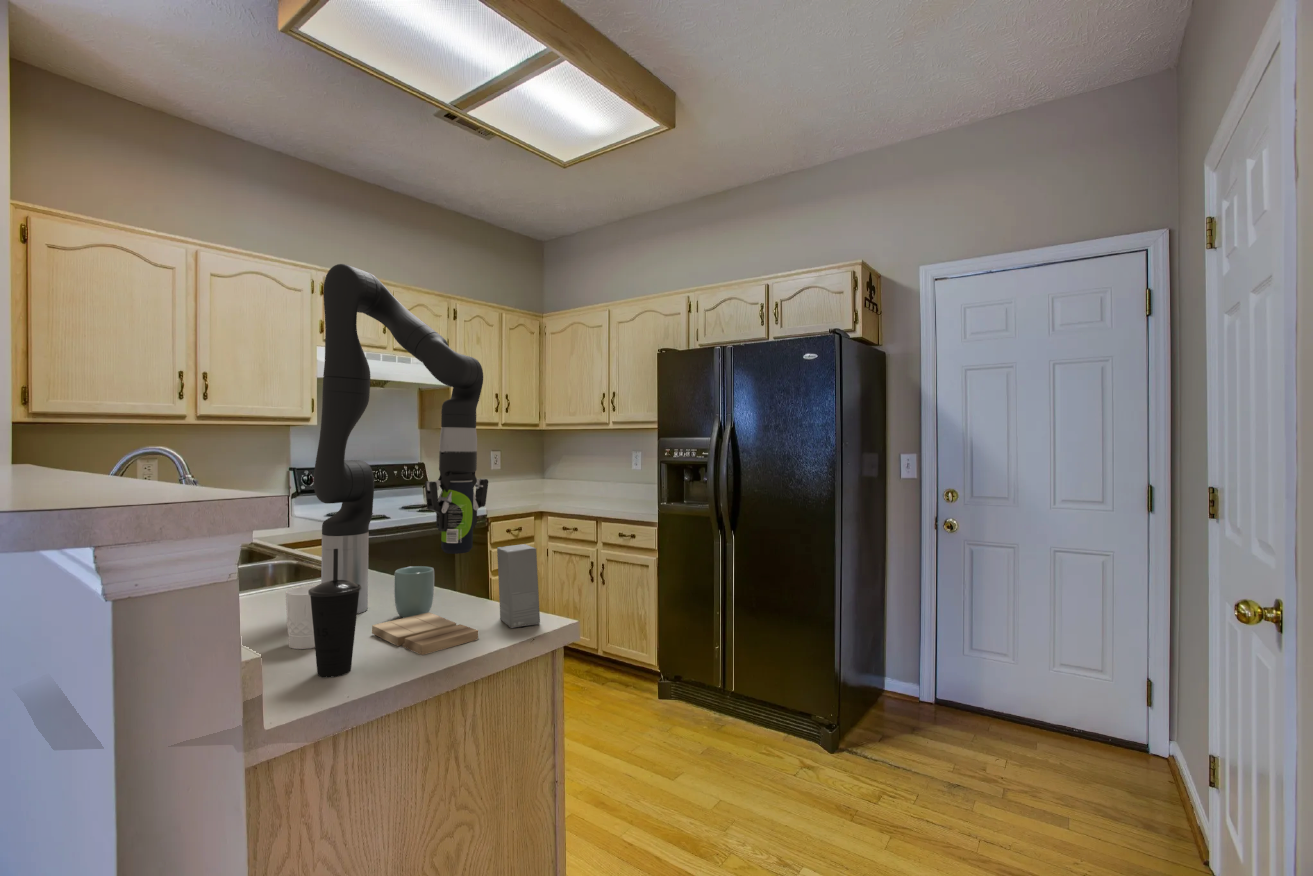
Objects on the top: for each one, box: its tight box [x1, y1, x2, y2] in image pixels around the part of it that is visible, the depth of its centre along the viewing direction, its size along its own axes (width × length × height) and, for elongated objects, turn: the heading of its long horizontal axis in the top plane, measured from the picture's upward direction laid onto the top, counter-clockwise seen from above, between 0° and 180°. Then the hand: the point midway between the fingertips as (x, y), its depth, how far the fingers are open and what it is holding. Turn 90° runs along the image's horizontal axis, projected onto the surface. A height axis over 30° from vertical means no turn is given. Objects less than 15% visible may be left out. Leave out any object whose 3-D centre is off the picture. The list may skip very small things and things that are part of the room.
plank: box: [371, 611, 457, 647], centre depth 120 cm, size 10×12×2 cm
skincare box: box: [496, 543, 541, 629], centre depth 129 cm, size 8×7×16 cm
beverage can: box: [440, 480, 475, 555], centre depth 129 cm, size 6×6×15 cm
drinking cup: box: [308, 549, 361, 679], centre depth 100 cm, size 8×8×20 cm
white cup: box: [285, 584, 318, 650], centre depth 114 cm, size 8×8×10 cm
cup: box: [393, 565, 435, 618], centre depth 132 cm, size 8×8×10 cm
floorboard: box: [401, 623, 479, 656], centre depth 115 cm, size 7×12×2 cm, turn 140°
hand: (456, 529), depth 129 cm, fingers closed on beverage can, 6 cm apart
